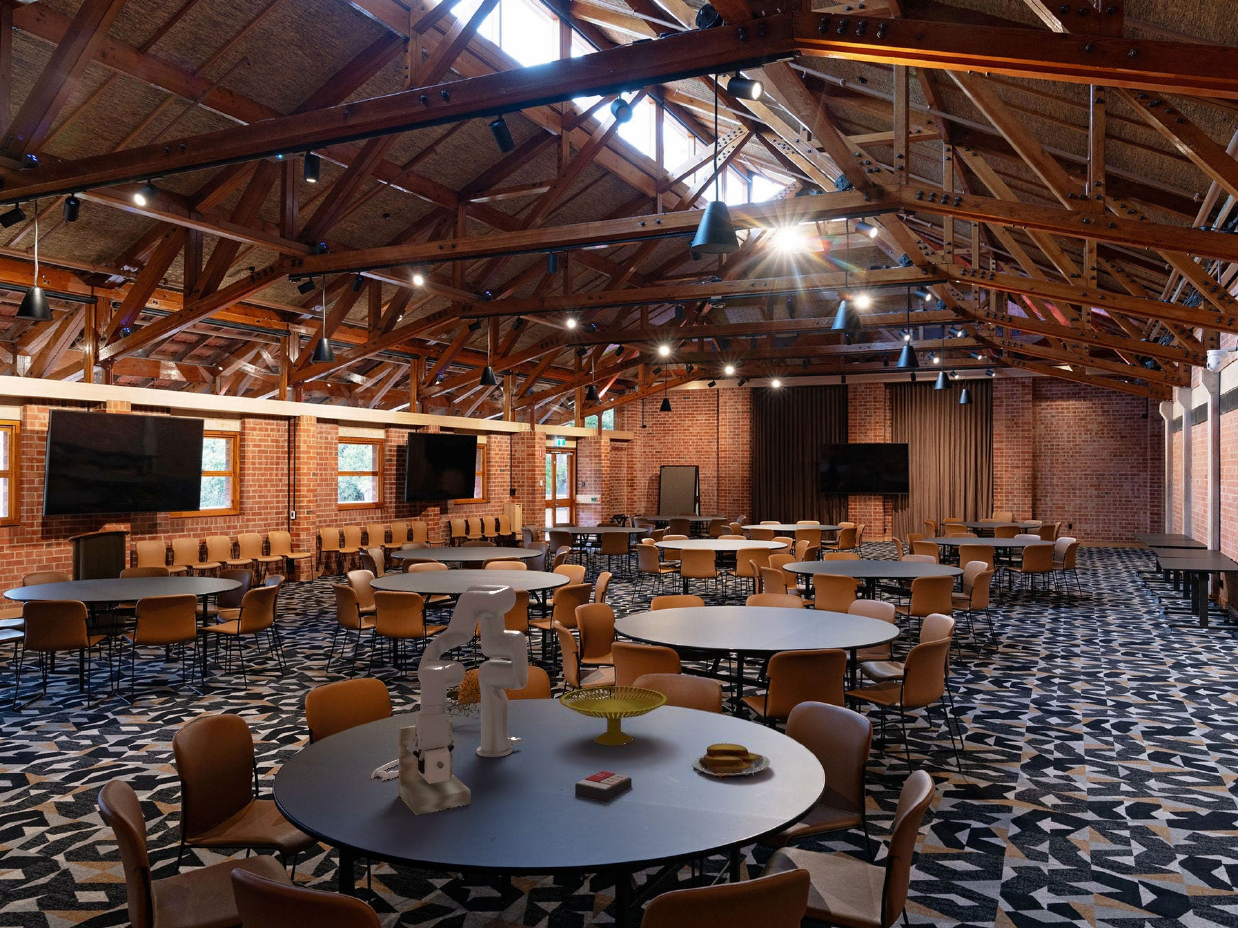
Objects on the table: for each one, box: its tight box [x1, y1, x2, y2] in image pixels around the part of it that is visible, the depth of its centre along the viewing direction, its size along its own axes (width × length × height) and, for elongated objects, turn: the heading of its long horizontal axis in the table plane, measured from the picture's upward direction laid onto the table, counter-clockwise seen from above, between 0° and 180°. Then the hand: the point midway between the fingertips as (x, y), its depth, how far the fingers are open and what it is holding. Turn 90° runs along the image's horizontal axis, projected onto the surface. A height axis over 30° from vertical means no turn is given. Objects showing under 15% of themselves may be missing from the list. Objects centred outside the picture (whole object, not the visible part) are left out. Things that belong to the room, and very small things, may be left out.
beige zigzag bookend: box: [398, 719, 472, 816], centre depth 237 cm, size 16×18×20 cm
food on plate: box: [691, 743, 771, 781], centre depth 263 cm, size 25×25×7 cm
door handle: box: [370, 758, 399, 782], centre depth 265 cm, size 3×10×25 cm
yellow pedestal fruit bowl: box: [558, 685, 669, 746], centre depth 295 cm, size 40×40×15 cm
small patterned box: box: [574, 770, 633, 803], centre depth 243 cm, size 11×4×15 cm
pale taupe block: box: [417, 747, 450, 784], centre depth 237 cm, size 6×13×8 cm, turn 30°
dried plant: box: [447, 656, 534, 721], centre depth 317 cm, size 30×31×45 cm
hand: (433, 769), depth 238 cm, fingers closed on pale taupe block, 6 cm apart
